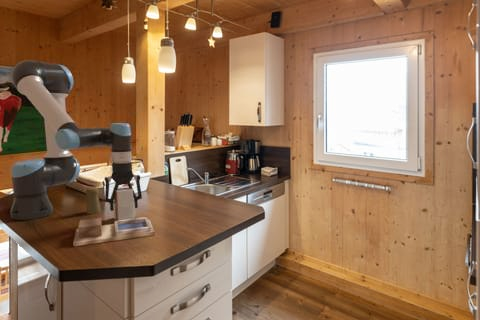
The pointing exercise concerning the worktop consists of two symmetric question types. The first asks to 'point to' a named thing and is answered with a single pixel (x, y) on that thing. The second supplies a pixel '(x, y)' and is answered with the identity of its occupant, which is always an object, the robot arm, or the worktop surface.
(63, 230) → the worktop surface
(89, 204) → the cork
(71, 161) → the robot arm
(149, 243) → the worktop surface
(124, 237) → the board
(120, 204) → the small box
